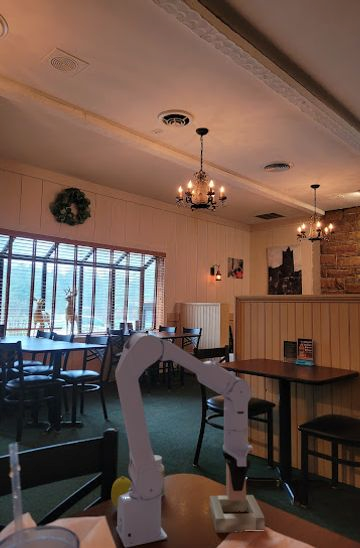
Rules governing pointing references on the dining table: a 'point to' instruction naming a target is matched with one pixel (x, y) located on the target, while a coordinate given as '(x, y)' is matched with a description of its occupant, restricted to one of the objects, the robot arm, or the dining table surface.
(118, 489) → the lemon
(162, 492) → the supplement bottle
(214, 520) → the collar
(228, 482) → the peg
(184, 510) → the dining table surface
